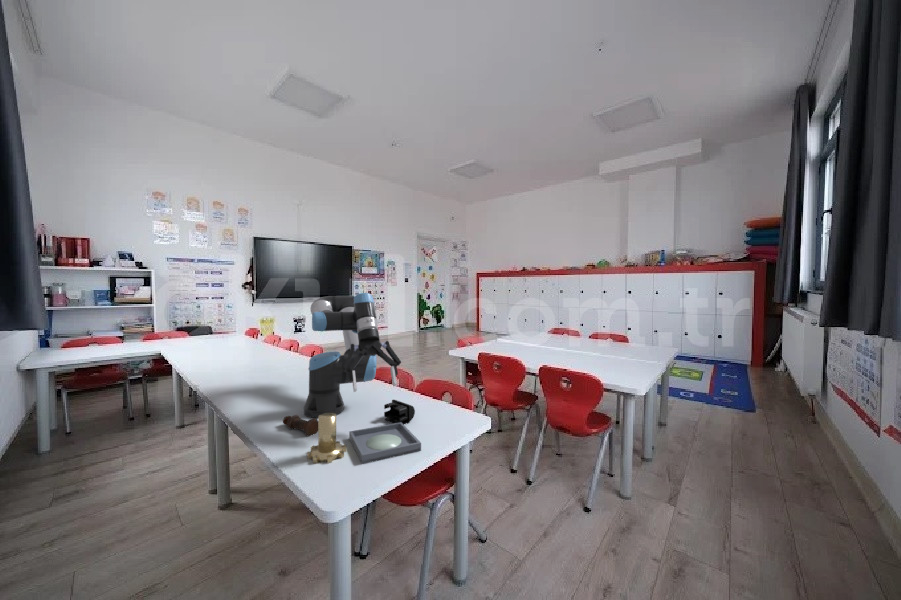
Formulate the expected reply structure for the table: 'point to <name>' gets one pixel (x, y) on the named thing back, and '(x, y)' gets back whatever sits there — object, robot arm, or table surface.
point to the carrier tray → (383, 442)
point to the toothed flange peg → (326, 441)
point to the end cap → (399, 412)
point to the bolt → (302, 424)
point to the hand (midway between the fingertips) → (375, 387)
